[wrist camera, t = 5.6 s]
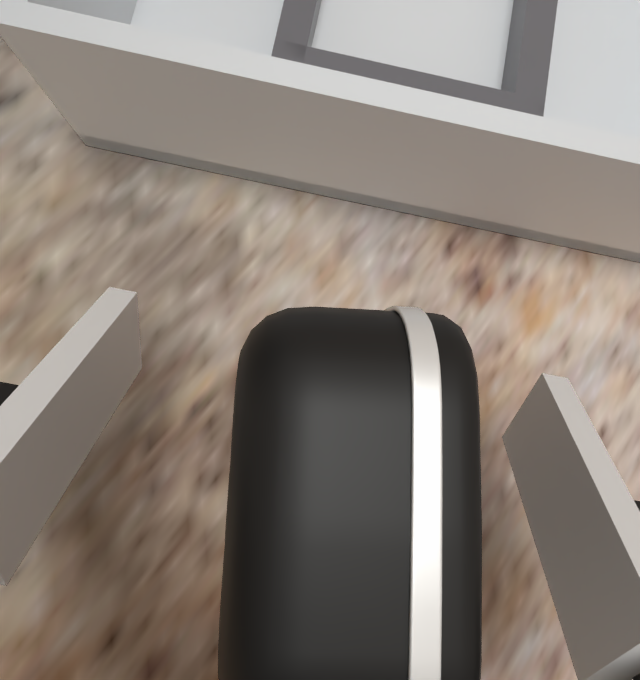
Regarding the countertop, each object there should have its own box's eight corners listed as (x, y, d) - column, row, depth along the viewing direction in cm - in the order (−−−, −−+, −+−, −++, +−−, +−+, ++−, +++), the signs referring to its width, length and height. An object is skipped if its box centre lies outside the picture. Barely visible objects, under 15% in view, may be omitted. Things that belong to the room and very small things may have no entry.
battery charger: (264, 354, 18) (220, 264, 6) (362, 359, 18) (490, 280, 7) (252, 545, 17) (176, 847, 5) (356, 548, 17) (496, 840, 6)
